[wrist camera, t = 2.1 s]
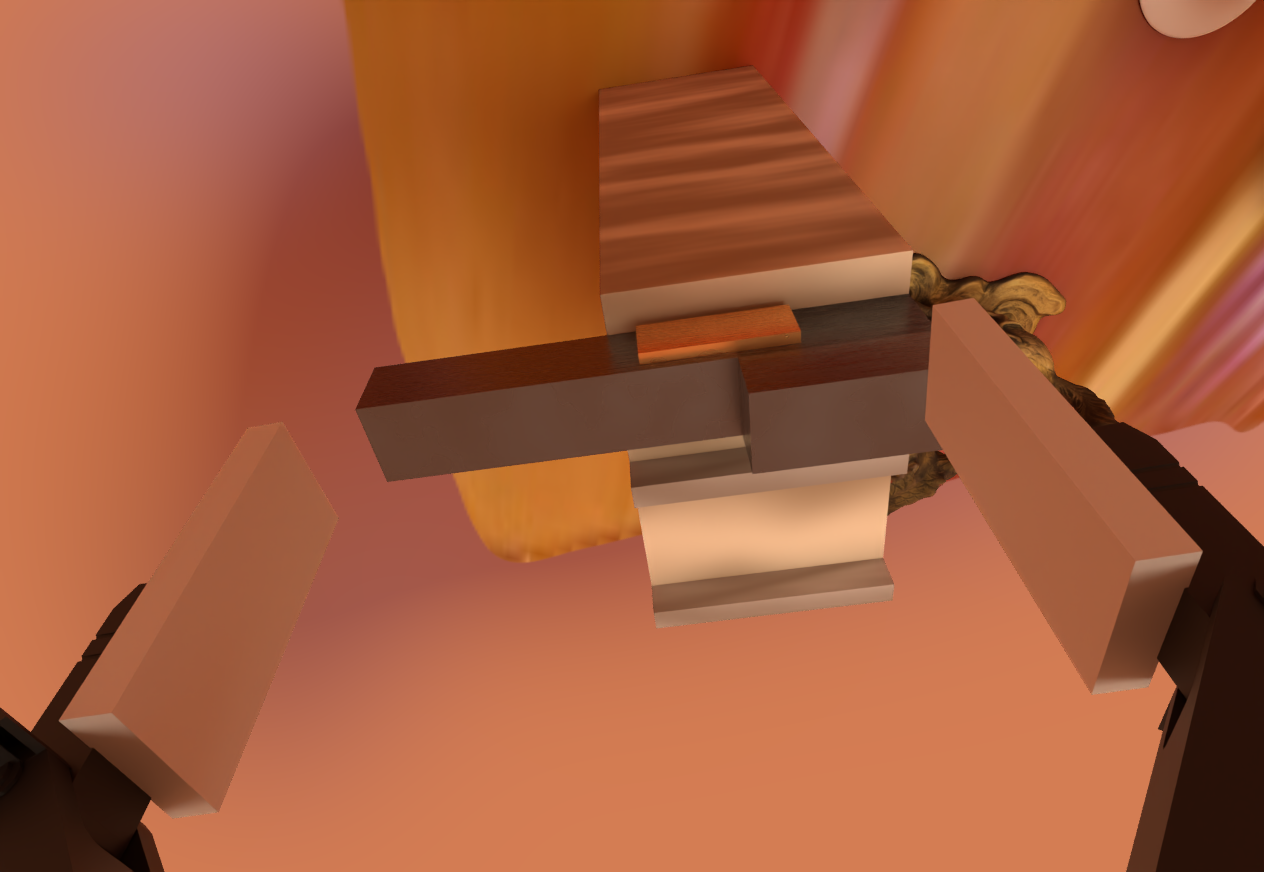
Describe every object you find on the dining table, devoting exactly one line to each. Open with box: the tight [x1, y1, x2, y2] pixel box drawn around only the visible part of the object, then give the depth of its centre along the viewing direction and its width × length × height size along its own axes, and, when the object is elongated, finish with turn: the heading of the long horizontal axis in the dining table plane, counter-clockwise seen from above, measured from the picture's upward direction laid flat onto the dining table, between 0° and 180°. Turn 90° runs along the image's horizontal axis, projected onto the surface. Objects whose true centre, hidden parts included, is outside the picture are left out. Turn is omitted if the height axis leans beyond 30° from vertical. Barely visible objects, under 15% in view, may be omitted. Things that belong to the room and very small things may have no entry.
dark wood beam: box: [356, 294, 943, 482], centre depth 24 cm, size 3×18×4 cm, turn 98°
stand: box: [599, 65, 913, 628], centre depth 40 cm, size 16×10×32 cm, turn 8°
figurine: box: [887, 253, 1119, 516], centre depth 51 cm, size 13×25×20 cm, turn 100°
